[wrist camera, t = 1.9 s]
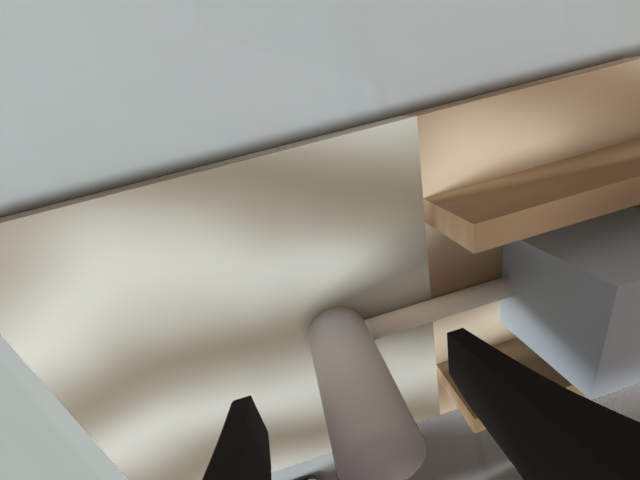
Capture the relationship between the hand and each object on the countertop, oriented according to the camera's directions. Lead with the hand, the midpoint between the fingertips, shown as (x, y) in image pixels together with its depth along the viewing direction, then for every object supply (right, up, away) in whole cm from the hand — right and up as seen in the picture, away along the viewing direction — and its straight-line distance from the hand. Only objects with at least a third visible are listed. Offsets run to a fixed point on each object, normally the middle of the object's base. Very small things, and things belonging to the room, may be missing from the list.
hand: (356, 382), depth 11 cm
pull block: (+5, +3, +3) cm, 7 cm away
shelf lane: (+1, +2, +4) cm, 5 cm away
